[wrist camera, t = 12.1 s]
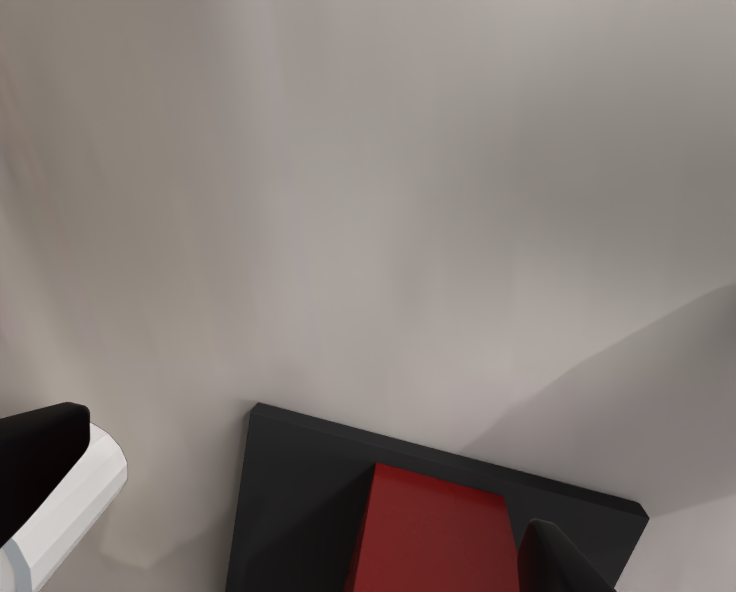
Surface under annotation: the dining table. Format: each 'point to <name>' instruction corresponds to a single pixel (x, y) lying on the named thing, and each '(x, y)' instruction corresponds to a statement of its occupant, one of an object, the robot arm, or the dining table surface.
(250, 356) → the dining table surface
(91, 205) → the dining table surface
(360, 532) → the toaster
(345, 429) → the placemat
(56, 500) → the shot glass
